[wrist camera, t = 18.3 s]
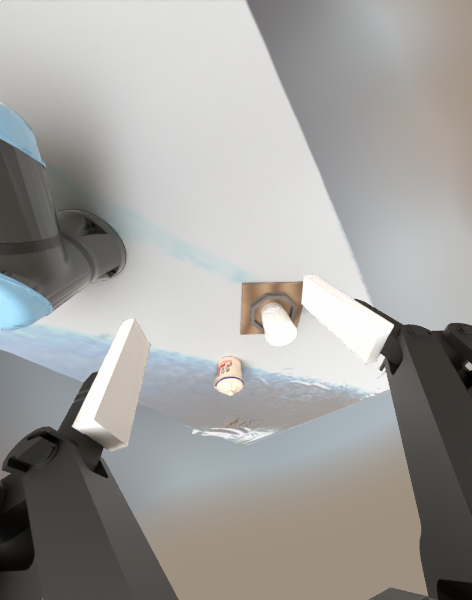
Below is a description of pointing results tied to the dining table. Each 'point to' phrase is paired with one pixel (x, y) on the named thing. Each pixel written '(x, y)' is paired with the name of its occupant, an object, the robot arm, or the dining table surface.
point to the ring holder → (266, 293)
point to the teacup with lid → (229, 376)
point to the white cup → (277, 325)
